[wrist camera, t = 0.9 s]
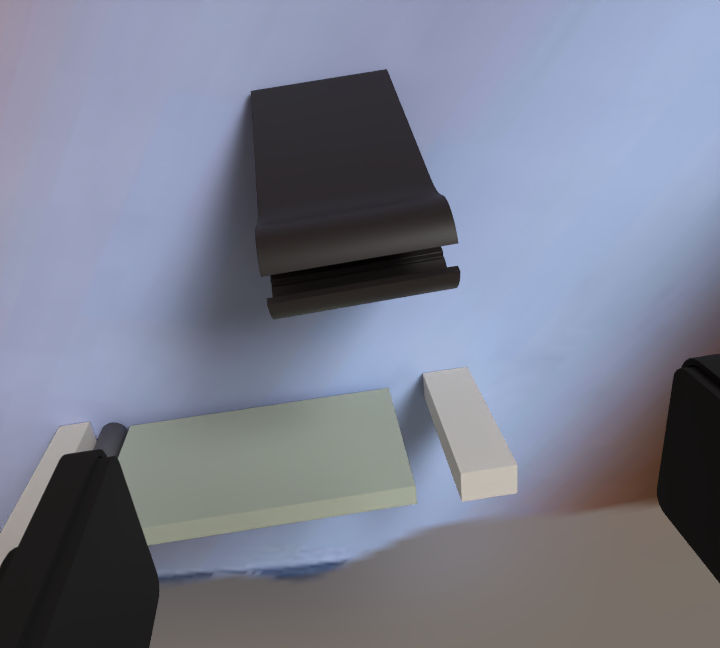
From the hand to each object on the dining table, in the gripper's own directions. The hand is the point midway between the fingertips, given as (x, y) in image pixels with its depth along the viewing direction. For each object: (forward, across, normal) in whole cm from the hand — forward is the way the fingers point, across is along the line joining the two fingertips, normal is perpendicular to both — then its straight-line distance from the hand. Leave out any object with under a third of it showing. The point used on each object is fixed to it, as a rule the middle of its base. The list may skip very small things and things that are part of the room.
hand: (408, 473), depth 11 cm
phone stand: (+21, -1, 0) cm, 21 cm away
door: (+21, +6, +12) cm, 25 cm away
